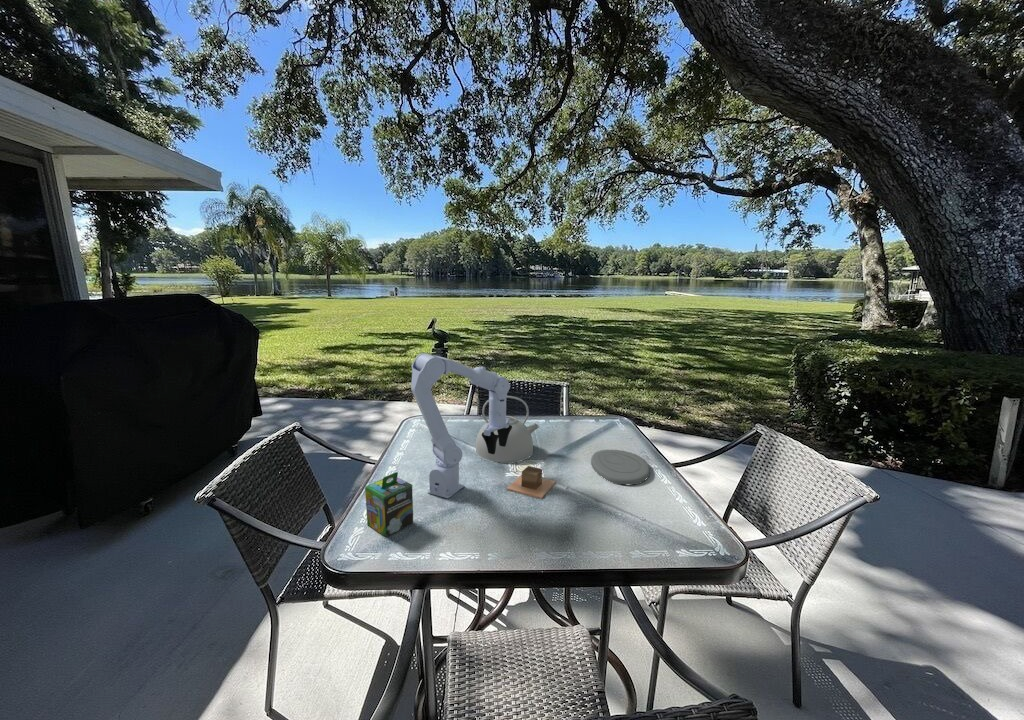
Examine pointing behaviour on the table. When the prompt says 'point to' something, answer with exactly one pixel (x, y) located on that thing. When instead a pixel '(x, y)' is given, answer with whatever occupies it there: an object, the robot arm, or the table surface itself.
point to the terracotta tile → (537, 493)
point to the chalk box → (389, 504)
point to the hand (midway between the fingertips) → (497, 449)
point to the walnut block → (531, 477)
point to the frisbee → (620, 466)
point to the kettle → (509, 440)
